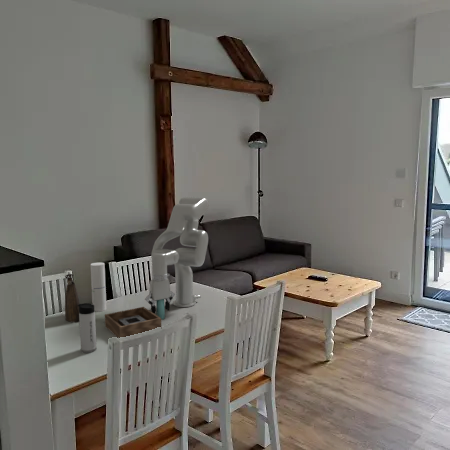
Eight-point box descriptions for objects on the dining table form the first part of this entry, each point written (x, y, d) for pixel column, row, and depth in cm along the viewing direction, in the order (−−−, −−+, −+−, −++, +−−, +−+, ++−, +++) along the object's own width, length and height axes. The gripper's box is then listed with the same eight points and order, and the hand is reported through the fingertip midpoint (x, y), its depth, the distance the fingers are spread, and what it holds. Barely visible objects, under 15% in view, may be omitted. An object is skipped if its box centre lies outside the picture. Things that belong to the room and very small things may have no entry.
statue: (62, 322, 216) (60, 272, 214) (67, 317, 224) (66, 269, 221) (79, 322, 216) (78, 272, 214) (84, 317, 224) (83, 269, 222)
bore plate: (138, 320, 216) (138, 315, 215) (147, 327, 207) (147, 321, 207) (118, 325, 210) (118, 319, 209) (126, 332, 201) (126, 326, 201)
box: (143, 318, 222) (143, 306, 221) (161, 330, 206) (161, 318, 205) (105, 326, 211) (104, 314, 210) (120, 340, 195) (120, 327, 194)
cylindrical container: (102, 312, 232) (100, 265, 228) (90, 311, 233) (87, 265, 229) (108, 307, 238) (106, 262, 235) (96, 306, 240) (94, 262, 236)
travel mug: (82, 347, 188) (79, 302, 185) (97, 346, 188) (95, 301, 185) (78, 353, 181) (76, 306, 179) (94, 352, 182) (92, 306, 179)
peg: (162, 316, 225) (162, 297, 223) (166, 318, 222) (165, 299, 220) (155, 317, 223) (154, 298, 221) (158, 320, 219) (158, 300, 218)
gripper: (171, 273, 227) (172, 306, 230) (140, 278, 217) (141, 312, 220) (178, 276, 221) (179, 310, 223) (146, 281, 211) (147, 316, 214)
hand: (160, 311), depth 222 cm, fingers open, 6 cm apart
